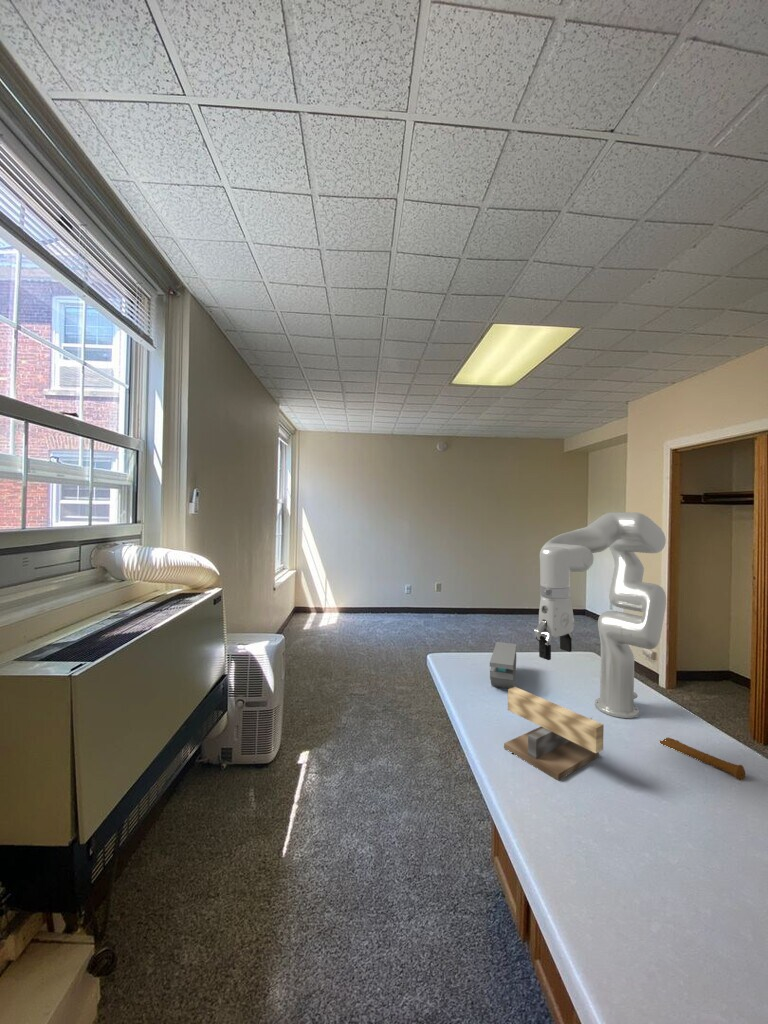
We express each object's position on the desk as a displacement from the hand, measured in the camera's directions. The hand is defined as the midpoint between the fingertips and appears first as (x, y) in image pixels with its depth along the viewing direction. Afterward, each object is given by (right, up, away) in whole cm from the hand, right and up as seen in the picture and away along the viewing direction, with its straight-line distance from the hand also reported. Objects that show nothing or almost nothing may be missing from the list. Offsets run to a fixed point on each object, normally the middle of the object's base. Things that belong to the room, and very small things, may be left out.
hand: (555, 654), depth 116 cm
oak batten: (-3, -18, -4) cm, 19 cm away
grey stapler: (-2, -25, +43) cm, 49 cm away
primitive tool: (+35, -26, -6) cm, 44 cm away
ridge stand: (-3, -25, -4) cm, 25 cm away
